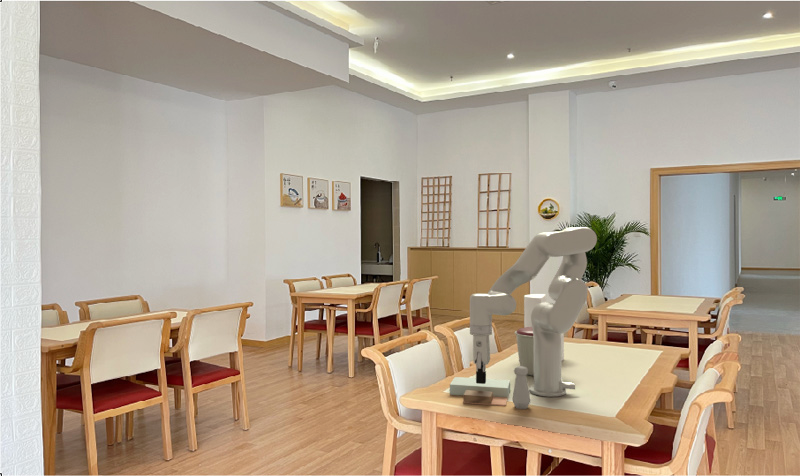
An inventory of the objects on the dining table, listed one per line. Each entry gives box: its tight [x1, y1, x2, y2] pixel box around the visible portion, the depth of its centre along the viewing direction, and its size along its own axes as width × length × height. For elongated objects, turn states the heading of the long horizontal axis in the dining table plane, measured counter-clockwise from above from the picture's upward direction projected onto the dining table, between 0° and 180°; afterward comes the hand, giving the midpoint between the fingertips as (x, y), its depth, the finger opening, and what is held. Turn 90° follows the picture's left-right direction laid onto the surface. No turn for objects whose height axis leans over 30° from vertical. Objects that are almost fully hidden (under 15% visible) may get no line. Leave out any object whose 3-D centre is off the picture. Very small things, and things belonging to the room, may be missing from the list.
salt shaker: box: [512, 365, 532, 410], centre depth 184 cm, size 6×6×13 cm
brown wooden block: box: [462, 390, 493, 405], centre depth 191 cm, size 9×6×2 cm, turn 75°
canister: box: [514, 327, 561, 377], centre depth 229 cm, size 18×18×21 cm
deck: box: [449, 376, 511, 399], centre depth 202 cm, size 20×11×4 cm, turn 75°
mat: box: [462, 397, 509, 407], centre depth 192 cm, size 14×9×1 cm, turn 75°
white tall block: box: [523, 293, 565, 362], centre depth 257 cm, size 17×17×28 cm
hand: (481, 383), depth 196 cm, fingers closed
